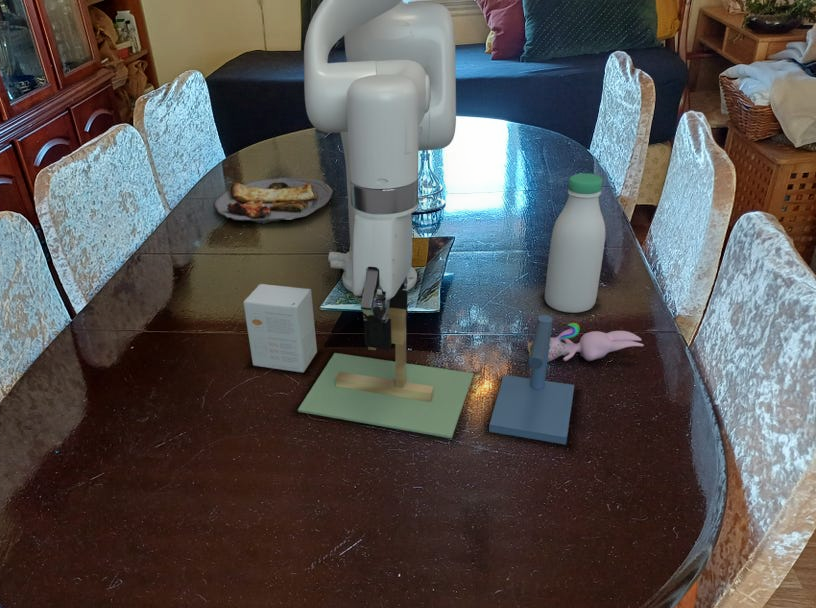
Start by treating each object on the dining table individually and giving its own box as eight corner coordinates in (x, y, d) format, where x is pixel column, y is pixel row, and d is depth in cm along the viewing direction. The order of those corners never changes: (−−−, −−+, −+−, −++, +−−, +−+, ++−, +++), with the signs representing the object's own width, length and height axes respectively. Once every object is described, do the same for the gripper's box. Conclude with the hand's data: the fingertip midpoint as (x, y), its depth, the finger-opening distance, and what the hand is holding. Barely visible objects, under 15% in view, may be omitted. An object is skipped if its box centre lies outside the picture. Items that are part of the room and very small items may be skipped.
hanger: (335, 386, 97) (330, 306, 90) (339, 380, 98) (334, 300, 92) (431, 402, 93) (432, 319, 86) (434, 395, 94) (436, 312, 88)
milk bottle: (597, 315, 110) (618, 187, 99) (544, 312, 111) (559, 186, 100) (593, 291, 116) (611, 169, 105) (543, 289, 118) (556, 168, 107)
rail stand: (488, 431, 88) (494, 353, 82) (503, 381, 97) (509, 308, 90) (565, 445, 85) (578, 365, 79) (573, 392, 94) (584, 316, 88)
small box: (318, 353, 105) (312, 288, 99) (303, 374, 101) (297, 307, 95) (267, 346, 107) (259, 282, 102) (251, 366, 103) (242, 300, 97)
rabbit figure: (531, 377, 99) (647, 365, 96) (527, 340, 96) (648, 326, 93) (527, 352, 105) (637, 340, 101) (523, 317, 101) (637, 303, 98)
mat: (298, 411, 93) (297, 409, 93) (334, 355, 104) (334, 352, 104) (451, 438, 87) (451, 436, 87) (473, 375, 98) (473, 373, 98)
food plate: (202, 228, 147) (199, 212, 145) (230, 188, 166) (228, 173, 164) (324, 228, 144) (323, 211, 142) (338, 187, 163) (337, 172, 161)
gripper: (375, 167, 89) (378, 296, 99) (325, 220, 75) (335, 364, 85) (435, 171, 87) (432, 303, 96) (395, 226, 73) (397, 373, 83)
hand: (386, 330), depth 91 cm, fingers open, 6 cm apart
